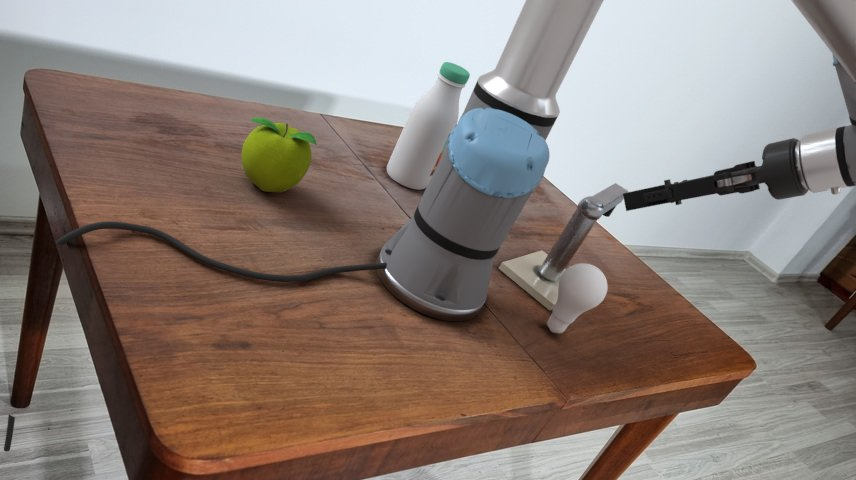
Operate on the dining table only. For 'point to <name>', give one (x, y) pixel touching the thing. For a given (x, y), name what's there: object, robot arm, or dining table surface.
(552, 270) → the spout
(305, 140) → the fruit
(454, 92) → the milk bottle
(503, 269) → the faucet stand
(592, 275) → the lightbulb
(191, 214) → the dining table surface
